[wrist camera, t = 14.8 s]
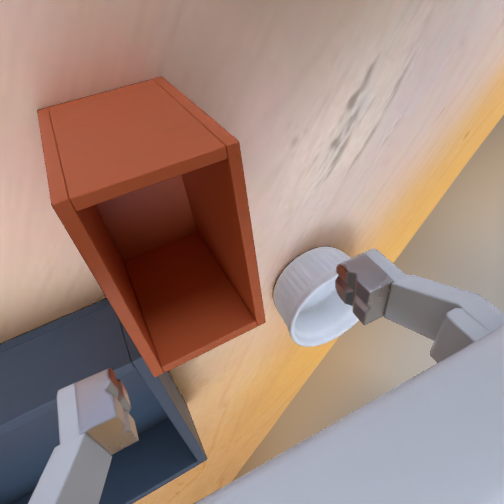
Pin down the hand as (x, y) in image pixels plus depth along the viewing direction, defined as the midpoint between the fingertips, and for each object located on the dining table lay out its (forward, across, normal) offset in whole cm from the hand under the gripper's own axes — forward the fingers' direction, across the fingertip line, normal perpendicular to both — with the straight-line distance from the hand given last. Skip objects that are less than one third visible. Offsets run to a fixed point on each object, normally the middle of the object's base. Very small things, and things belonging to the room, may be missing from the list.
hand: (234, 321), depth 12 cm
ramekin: (+12, -10, +16) cm, 22 cm away
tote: (+12, +1, +1) cm, 12 cm away
